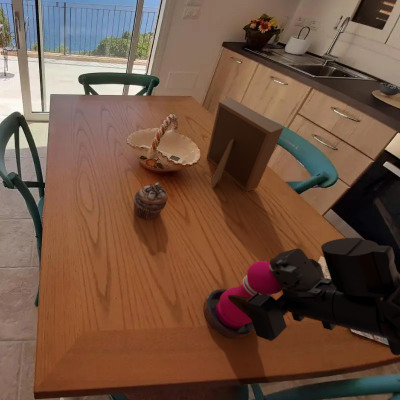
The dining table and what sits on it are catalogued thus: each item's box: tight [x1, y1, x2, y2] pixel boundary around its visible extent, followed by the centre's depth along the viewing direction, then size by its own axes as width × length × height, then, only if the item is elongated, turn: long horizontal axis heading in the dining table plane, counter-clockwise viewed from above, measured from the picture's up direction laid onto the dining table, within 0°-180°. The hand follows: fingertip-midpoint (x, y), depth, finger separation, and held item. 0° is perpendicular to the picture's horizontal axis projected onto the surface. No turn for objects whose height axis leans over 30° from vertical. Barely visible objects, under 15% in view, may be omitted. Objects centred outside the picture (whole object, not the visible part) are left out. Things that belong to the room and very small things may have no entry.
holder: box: [202, 288, 255, 340], centre depth 60 cm, size 10×10×2 cm
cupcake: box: [133, 182, 169, 221], centre depth 81 cm, size 10×10×10 cm
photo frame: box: [206, 97, 285, 193], centre depth 92 cm, size 15×22×25 cm
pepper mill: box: [215, 260, 283, 329], centre depth 54 cm, size 7×7×20 cm
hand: (242, 286), depth 54 cm, fingers open, 9 cm apart
